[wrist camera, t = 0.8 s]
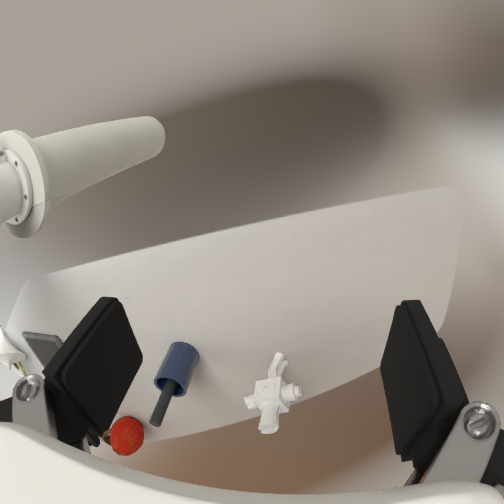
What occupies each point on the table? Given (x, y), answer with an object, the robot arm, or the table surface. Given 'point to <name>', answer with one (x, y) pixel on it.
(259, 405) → the toy robot
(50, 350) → the tablet
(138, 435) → the apple
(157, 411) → the stylus
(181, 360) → the pen cup
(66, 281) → the table surface
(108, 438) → the bracelet
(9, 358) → the white concave pointed part
